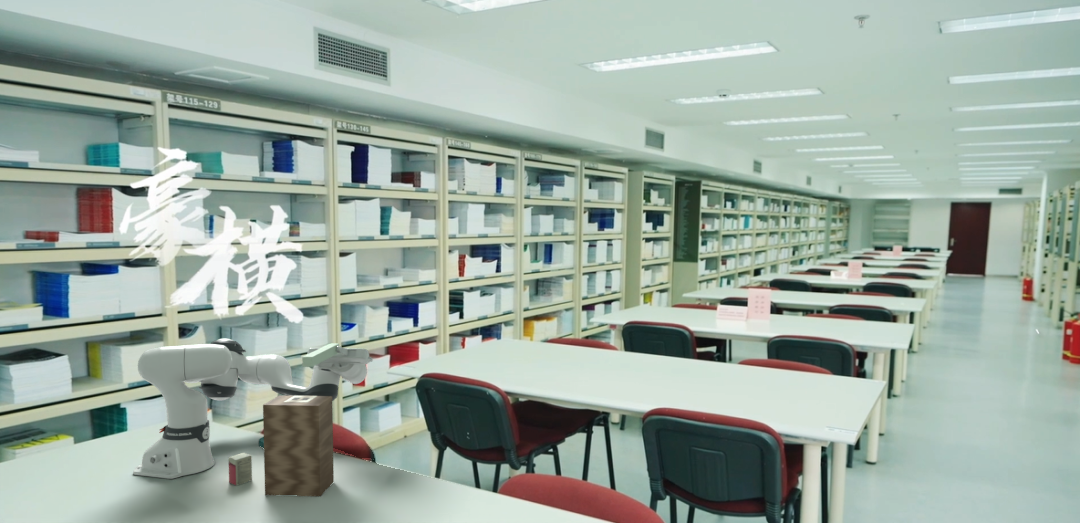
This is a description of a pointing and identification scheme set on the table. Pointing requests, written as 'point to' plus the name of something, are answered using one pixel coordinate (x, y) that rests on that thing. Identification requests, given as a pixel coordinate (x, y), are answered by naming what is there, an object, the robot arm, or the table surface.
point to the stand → (298, 445)
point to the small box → (240, 468)
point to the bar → (319, 355)
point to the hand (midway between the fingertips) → (331, 348)
